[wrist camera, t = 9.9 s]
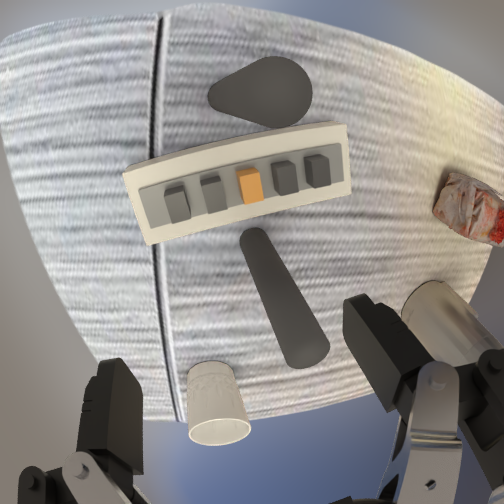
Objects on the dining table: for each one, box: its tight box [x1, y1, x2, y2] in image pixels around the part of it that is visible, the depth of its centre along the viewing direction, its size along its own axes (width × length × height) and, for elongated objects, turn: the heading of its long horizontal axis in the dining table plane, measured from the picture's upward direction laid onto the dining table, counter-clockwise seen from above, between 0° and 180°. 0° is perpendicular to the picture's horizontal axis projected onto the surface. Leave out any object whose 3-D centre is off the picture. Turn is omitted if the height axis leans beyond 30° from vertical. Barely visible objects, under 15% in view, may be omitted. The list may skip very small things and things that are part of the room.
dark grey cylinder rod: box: [240, 228, 330, 369], centre depth 25 cm, size 3×3×16 cm
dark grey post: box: [208, 56, 312, 128], centre depth 17 cm, size 3×3×16 cm
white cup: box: [187, 361, 251, 446], centre depth 37 cm, size 8×8×10 cm
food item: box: [433, 172, 504, 248], centre depth 32 cm, size 14×8×10 cm, turn 79°
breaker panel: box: [122, 121, 351, 246], centre depth 26 cm, size 20×7×5 cm, turn 101°
